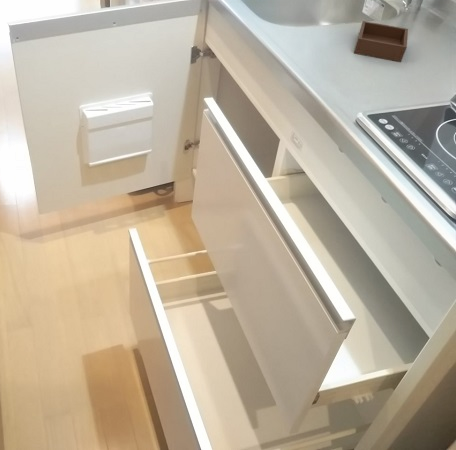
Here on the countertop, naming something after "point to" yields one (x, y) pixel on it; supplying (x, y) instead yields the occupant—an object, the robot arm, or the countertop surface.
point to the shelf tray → (381, 41)
